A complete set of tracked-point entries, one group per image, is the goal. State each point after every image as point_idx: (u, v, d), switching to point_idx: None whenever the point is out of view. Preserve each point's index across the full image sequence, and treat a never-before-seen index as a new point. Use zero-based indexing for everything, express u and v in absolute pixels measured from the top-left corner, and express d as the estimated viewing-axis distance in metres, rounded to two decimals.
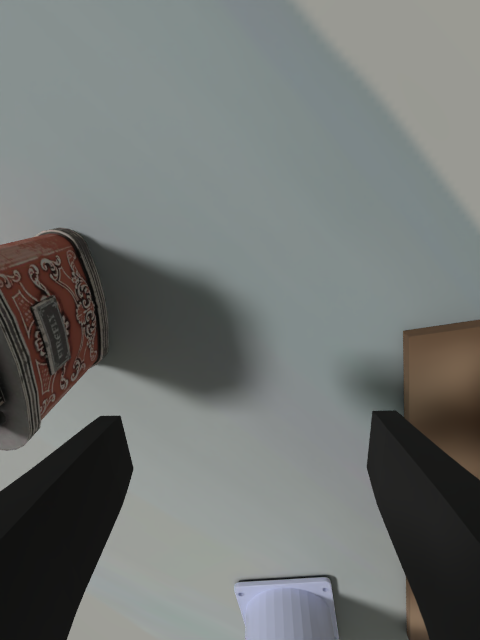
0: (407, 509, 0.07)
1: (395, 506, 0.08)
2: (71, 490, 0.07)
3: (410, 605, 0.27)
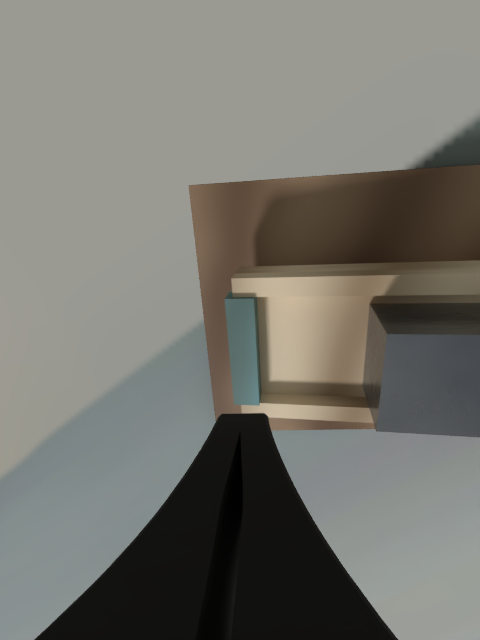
0: None
1: None
2: (231, 490, 0.07)
3: None
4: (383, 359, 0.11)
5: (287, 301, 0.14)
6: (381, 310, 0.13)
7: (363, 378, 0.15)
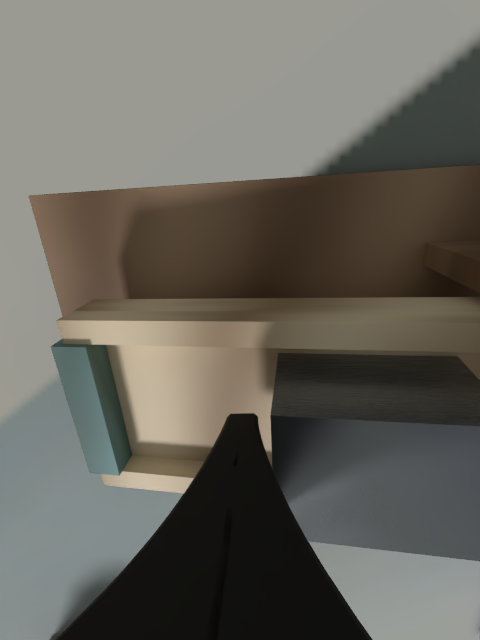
0: None
1: None
2: None
3: None
4: None
5: (142, 347, 0.11)
6: (286, 366, 0.09)
7: None
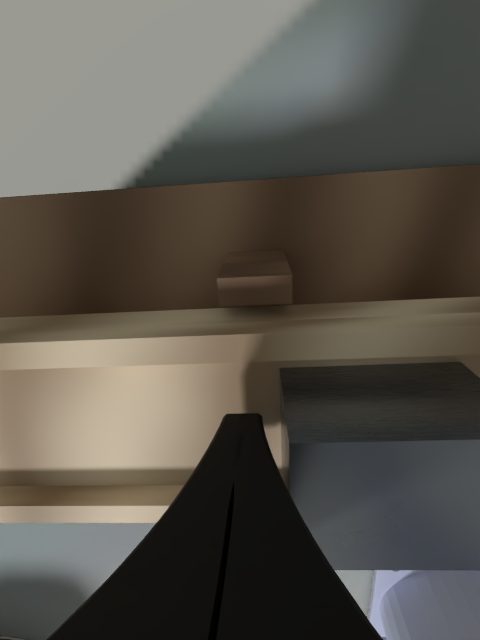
0: None
1: None
2: None
3: None
4: (288, 475, 0.07)
5: None
6: (292, 383, 0.09)
7: None
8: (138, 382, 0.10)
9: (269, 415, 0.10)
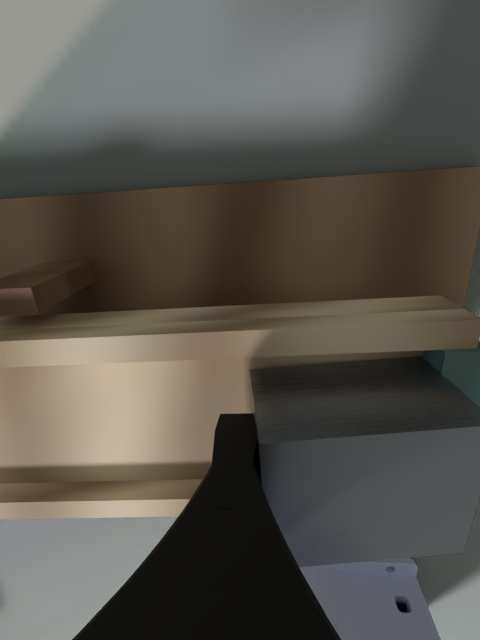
0: None
1: None
2: None
3: None
4: (260, 476, 0.07)
5: None
6: (262, 383, 0.09)
7: None
8: None
9: (45, 417, 0.11)
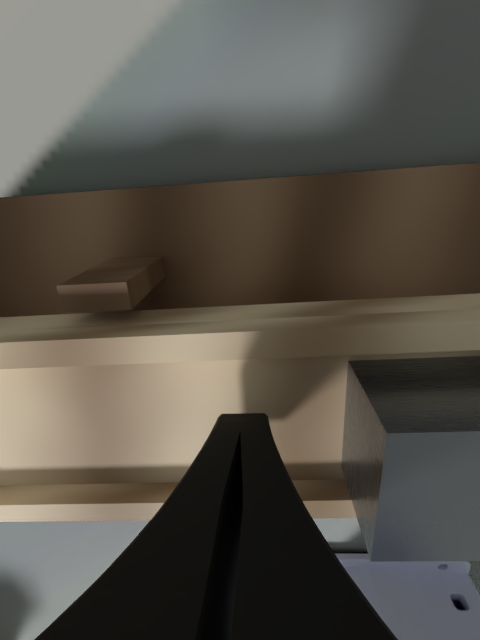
0: None
1: None
2: (231, 490, 0.07)
3: None
4: (380, 466, 0.07)
5: None
6: (367, 375, 0.09)
7: (342, 457, 0.11)
8: None
9: (128, 417, 0.11)
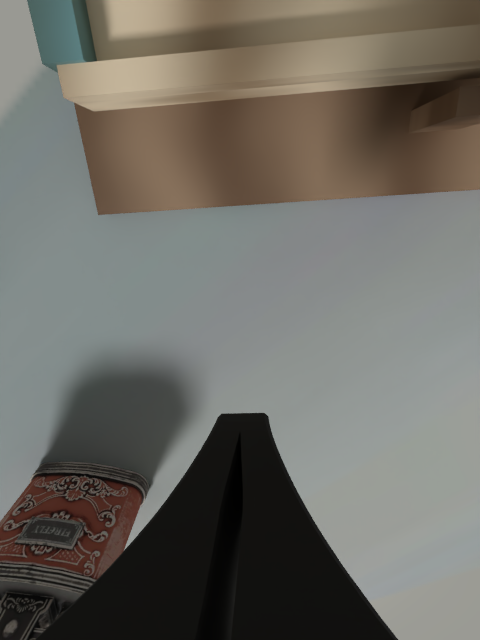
0: None
1: None
2: (231, 490, 0.07)
3: None
4: None
5: None
6: None
7: None
8: None
9: None
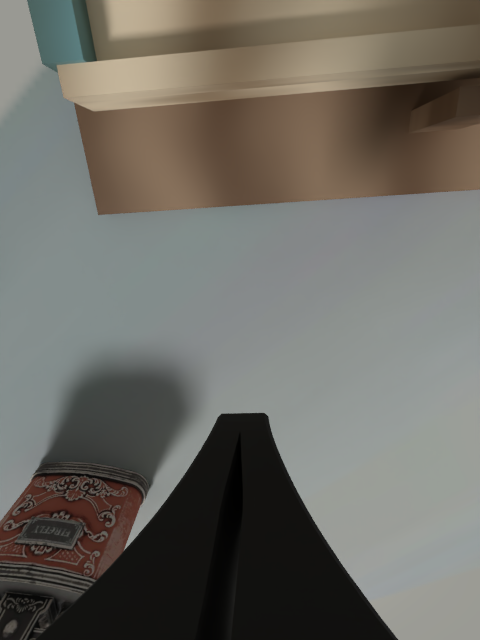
0: None
1: None
2: (231, 490, 0.07)
3: None
4: None
5: None
6: None
7: None
8: None
9: None
